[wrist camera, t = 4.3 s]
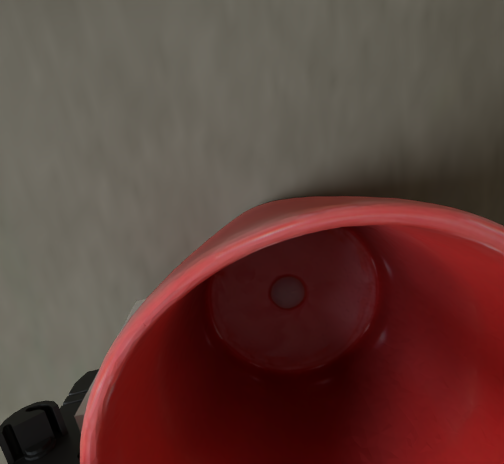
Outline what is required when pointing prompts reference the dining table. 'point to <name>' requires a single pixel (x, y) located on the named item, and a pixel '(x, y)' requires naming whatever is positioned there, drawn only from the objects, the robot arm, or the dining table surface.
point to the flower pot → (315, 343)
